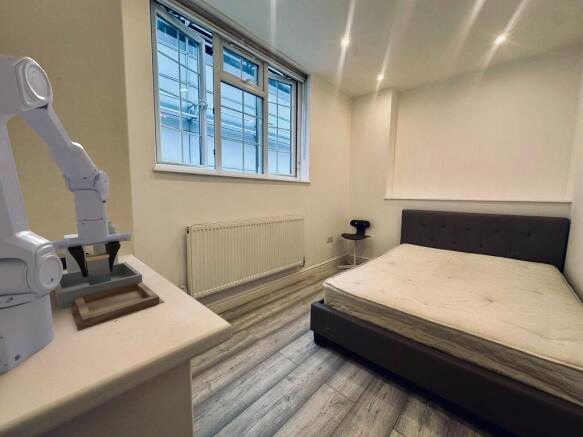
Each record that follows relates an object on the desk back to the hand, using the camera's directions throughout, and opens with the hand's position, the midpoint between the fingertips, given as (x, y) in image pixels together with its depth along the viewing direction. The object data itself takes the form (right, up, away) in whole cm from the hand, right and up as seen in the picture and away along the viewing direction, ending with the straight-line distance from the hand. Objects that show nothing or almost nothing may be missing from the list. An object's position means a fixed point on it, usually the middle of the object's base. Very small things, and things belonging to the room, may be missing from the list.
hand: (97, 273), depth 58 cm
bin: (0, -4, +1) cm, 4 cm away
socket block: (+11, -6, -7) cm, 14 cm away
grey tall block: (0, -2, 0) cm, 2 cm away
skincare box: (-14, -3, +10) cm, 18 cm away
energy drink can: (-11, -2, +18) cm, 21 cm away
